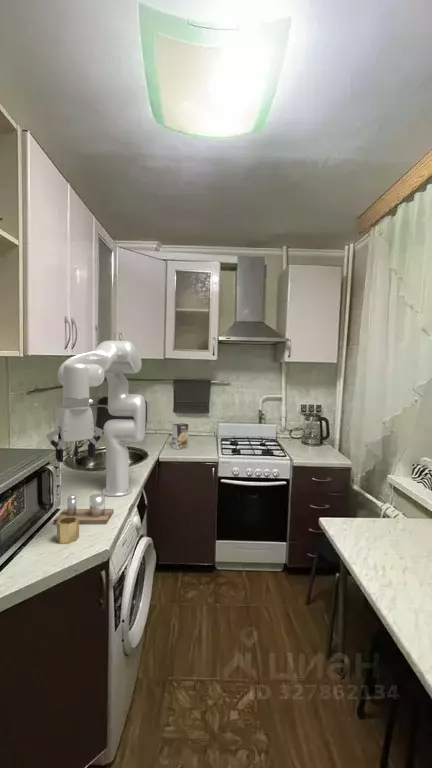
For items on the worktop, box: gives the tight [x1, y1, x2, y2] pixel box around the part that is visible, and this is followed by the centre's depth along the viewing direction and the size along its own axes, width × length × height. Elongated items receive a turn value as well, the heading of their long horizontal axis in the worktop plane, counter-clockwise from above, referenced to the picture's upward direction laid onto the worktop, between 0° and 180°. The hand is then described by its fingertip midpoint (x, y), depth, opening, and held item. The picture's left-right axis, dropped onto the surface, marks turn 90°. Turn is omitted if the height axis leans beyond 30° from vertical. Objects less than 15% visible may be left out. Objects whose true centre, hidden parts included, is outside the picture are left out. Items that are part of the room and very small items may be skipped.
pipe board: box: [53, 508, 114, 525], centre depth 132 cm, size 10×18×2 cm, turn 92°
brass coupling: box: [56, 517, 80, 545], centre depth 116 cm, size 6×6×6 cm
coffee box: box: [171, 423, 189, 450], centre depth 248 cm, size 9×6×16 cm
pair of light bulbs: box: [66, 493, 106, 517], centre depth 132 cm, size 5×13×7 cm, turn 91°
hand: (75, 459), depth 114 cm, fingers open, 9 cm apart
